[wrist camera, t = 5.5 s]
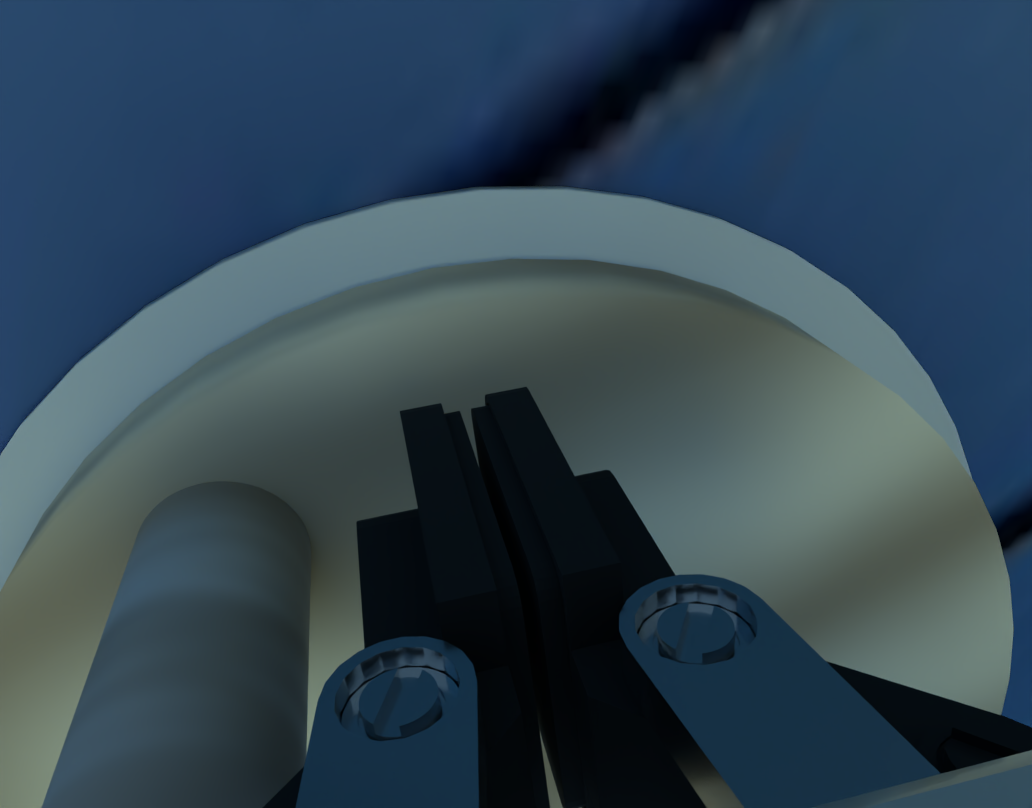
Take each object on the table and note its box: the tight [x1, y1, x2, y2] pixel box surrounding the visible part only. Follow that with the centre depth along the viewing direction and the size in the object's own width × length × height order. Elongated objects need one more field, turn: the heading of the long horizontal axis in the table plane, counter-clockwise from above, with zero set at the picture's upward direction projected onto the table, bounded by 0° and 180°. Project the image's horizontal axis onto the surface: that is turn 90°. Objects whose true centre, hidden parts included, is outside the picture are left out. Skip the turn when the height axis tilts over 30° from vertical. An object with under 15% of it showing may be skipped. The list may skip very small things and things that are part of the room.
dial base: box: [0, 186, 972, 591], centre depth 18 cm, size 21×21×1 cm
